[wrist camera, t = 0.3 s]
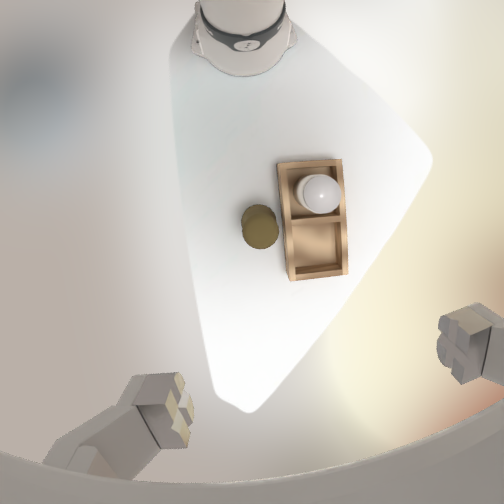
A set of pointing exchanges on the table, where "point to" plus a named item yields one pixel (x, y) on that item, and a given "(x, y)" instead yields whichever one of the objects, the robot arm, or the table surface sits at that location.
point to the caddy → (312, 225)
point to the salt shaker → (317, 193)
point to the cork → (259, 227)
